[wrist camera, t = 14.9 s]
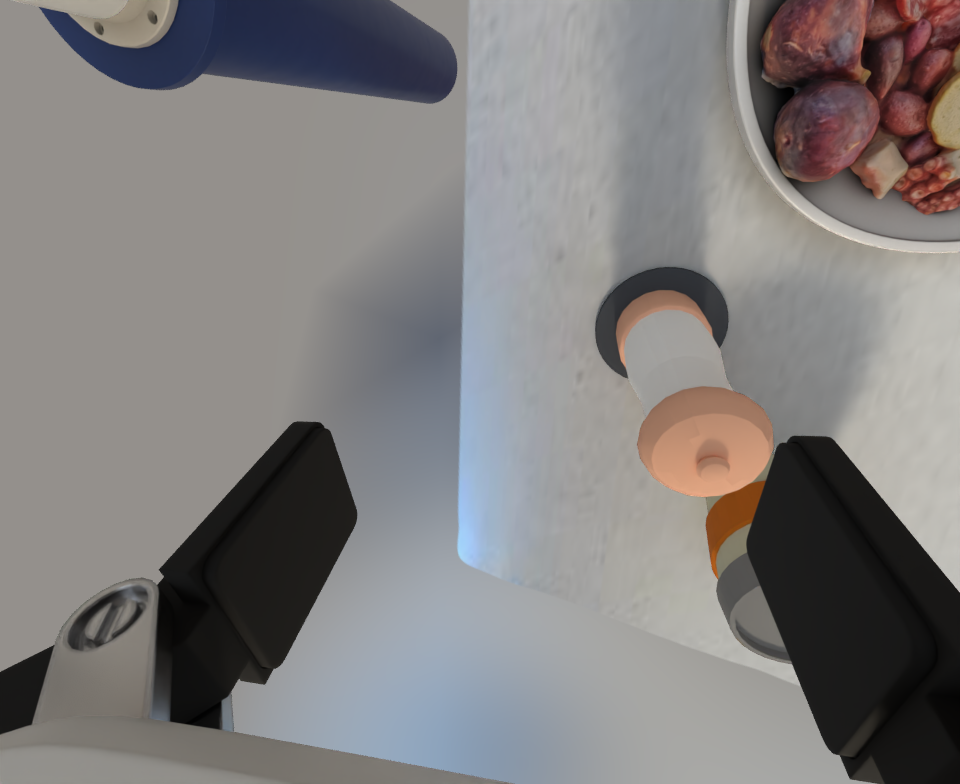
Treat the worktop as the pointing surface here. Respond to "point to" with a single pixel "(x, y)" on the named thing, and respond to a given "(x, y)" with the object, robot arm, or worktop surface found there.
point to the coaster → (653, 281)
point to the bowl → (854, 113)
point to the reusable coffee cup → (741, 570)
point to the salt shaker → (689, 400)
